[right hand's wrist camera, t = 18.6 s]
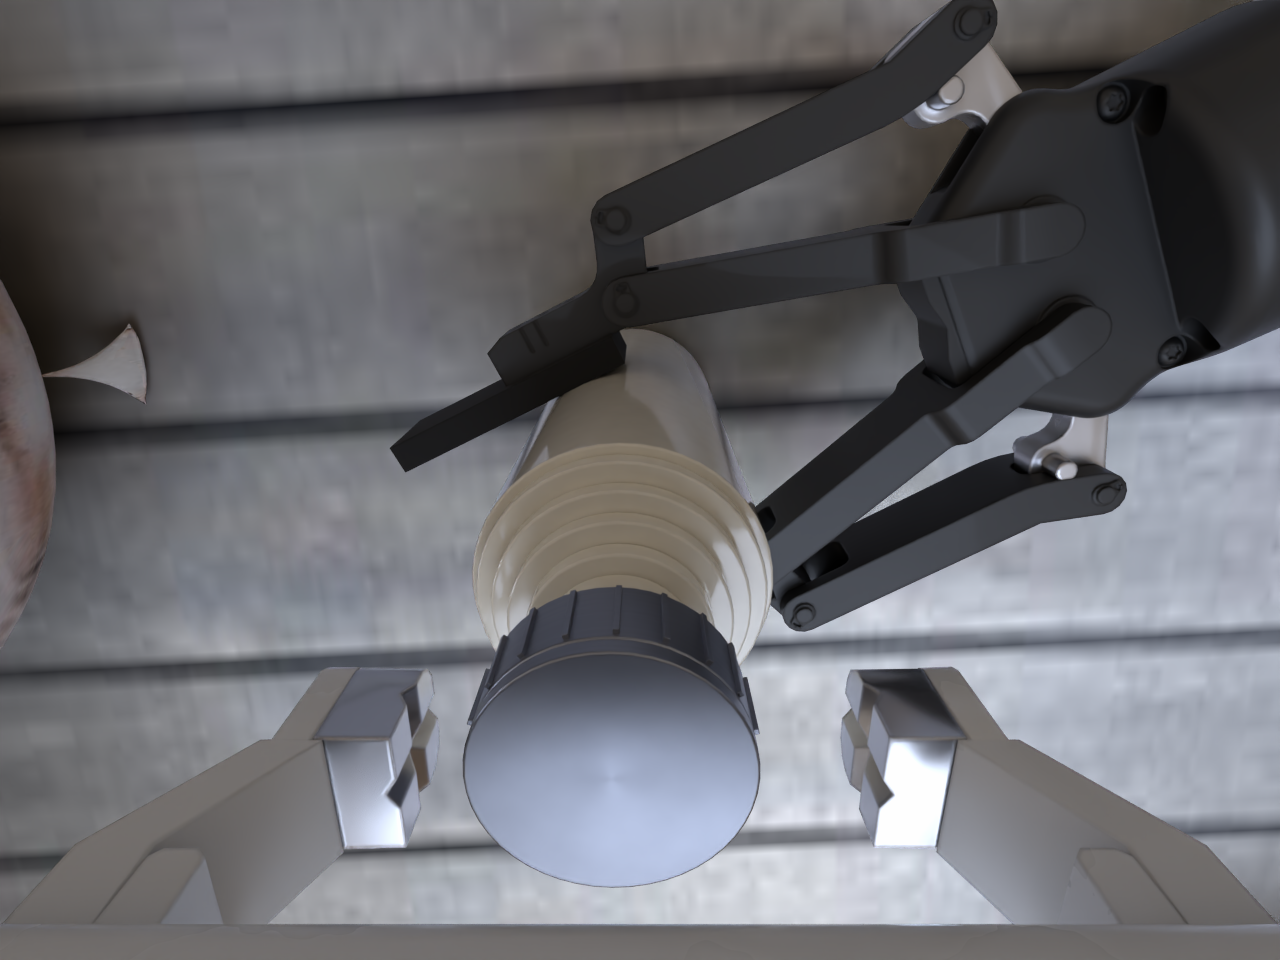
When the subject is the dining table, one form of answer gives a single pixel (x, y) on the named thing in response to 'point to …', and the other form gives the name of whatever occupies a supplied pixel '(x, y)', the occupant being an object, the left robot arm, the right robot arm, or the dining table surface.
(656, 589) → the bottle
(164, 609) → the dining table surface
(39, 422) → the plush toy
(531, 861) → the cap
